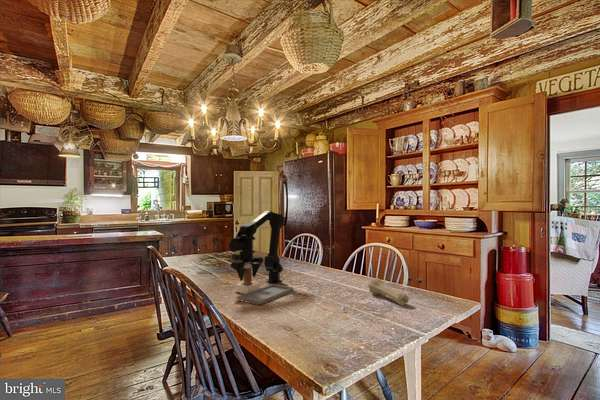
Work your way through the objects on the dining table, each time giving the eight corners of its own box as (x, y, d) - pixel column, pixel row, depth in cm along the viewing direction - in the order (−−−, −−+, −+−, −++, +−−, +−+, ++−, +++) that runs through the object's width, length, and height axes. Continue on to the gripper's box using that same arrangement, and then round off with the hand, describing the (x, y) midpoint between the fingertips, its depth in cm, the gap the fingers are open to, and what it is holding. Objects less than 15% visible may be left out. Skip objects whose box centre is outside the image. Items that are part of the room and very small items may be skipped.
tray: (272, 287, 168) (272, 283, 168) (293, 291, 160) (293, 287, 160) (237, 299, 147) (237, 296, 147) (259, 305, 139) (259, 301, 139)
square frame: (247, 287, 167) (247, 280, 167) (260, 290, 162) (259, 282, 162) (235, 292, 160) (235, 284, 160) (247, 294, 155) (247, 286, 155)
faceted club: (379, 289, 159) (416, 306, 136) (366, 295, 156) (402, 314, 133) (376, 273, 158) (413, 288, 135) (362, 279, 154) (398, 295, 132)
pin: (247, 289, 164) (247, 267, 164) (253, 290, 162) (252, 268, 162) (242, 291, 160) (242, 268, 161) (247, 292, 158) (247, 269, 158)
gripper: (248, 245, 173) (249, 273, 173) (223, 250, 158) (223, 280, 158) (263, 247, 167) (264, 275, 167) (238, 252, 152) (238, 283, 152)
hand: (247, 278), depth 161 cm, fingers open, 9 cm apart
